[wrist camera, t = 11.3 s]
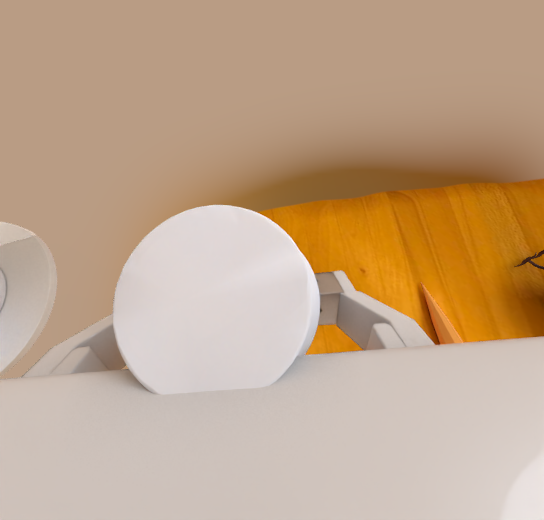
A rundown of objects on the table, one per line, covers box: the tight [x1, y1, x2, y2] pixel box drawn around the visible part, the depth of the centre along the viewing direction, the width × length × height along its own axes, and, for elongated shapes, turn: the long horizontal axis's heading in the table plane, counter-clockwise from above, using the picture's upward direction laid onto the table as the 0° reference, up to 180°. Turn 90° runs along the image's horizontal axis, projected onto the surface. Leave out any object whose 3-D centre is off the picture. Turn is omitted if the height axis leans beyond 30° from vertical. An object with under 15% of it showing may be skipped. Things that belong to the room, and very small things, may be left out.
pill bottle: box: [113, 205, 320, 395], centre depth 10 cm, size 6×6×12 cm
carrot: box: [421, 282, 464, 344], centre depth 24 cm, size 20×4×4 cm, turn 13°
